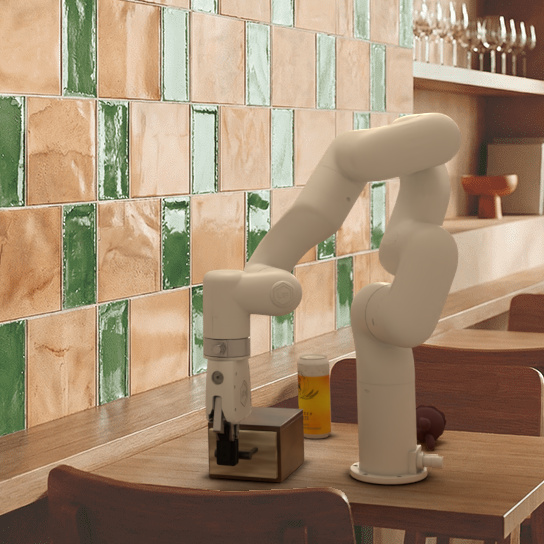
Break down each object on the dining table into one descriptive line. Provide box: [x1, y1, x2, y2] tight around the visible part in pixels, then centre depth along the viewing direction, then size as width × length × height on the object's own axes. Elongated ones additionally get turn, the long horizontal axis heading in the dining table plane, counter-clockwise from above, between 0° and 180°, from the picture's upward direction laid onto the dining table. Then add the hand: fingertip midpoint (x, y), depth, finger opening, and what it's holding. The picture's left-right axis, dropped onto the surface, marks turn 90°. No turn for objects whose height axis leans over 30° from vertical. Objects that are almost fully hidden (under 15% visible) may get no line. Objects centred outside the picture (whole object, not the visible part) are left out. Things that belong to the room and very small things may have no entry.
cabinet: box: [207, 406, 305, 483], centre depth 197 cm, size 14×13×9 cm
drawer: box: [208, 428, 278, 479], centre depth 193 cm, size 17×11×7 cm, turn 159°
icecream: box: [416, 404, 447, 451], centre depth 213 cm, size 7×7×15 cm
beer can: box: [296, 353, 332, 439], centre depth 221 cm, size 6×6×15 cm
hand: (227, 464), depth 184 cm, fingers closed
